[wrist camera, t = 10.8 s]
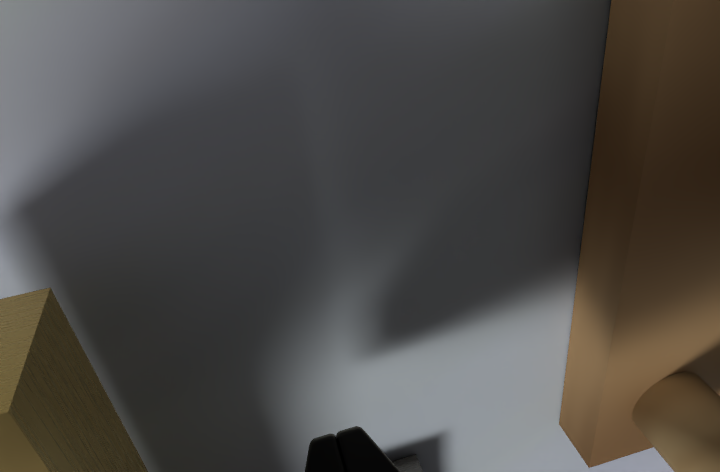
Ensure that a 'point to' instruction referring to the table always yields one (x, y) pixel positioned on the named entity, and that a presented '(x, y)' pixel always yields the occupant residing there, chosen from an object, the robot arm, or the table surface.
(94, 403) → the brass door lever
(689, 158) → the peg cradle
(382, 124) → the table surface
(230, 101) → the table surface
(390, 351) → the table surface
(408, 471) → the base
